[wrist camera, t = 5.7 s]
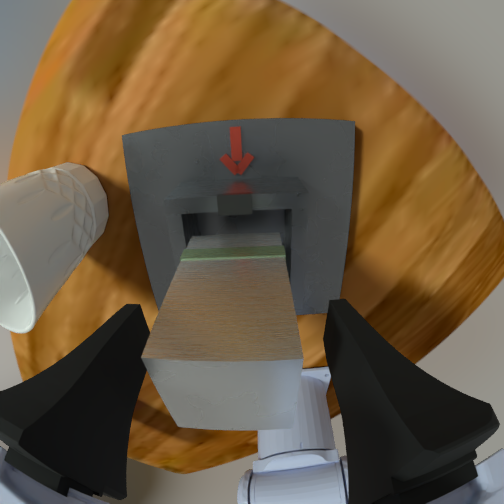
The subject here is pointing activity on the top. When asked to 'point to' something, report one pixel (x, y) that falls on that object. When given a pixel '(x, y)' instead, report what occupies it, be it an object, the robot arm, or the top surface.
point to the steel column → (228, 336)
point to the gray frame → (247, 195)
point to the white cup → (45, 237)
